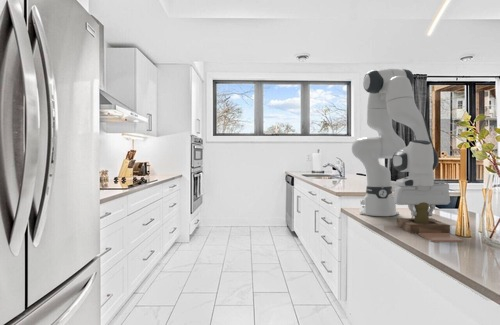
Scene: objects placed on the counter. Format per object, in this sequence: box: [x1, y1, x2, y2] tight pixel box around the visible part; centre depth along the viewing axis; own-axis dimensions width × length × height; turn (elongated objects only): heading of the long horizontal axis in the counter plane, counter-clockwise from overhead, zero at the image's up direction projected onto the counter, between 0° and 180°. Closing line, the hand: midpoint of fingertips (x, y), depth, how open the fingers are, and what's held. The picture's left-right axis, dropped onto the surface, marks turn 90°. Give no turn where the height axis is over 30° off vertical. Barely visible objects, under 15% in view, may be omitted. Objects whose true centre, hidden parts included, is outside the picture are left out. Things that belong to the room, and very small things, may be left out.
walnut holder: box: [396, 217, 451, 234], centre depth 125 cm, size 14×14×3 cm
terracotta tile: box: [418, 233, 464, 243], centre depth 112 cm, size 10×10×1 cm
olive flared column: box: [414, 202, 430, 224], centre depth 126 cm, size 6×6×11 cm
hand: (421, 215), depth 126 cm, fingers closed on olive flared column, 4 cm apart
